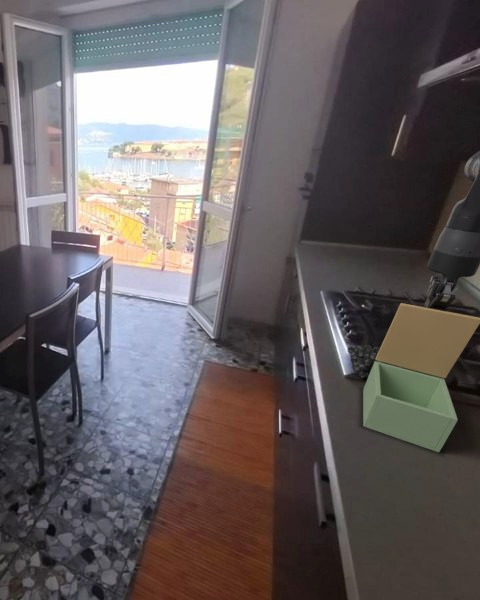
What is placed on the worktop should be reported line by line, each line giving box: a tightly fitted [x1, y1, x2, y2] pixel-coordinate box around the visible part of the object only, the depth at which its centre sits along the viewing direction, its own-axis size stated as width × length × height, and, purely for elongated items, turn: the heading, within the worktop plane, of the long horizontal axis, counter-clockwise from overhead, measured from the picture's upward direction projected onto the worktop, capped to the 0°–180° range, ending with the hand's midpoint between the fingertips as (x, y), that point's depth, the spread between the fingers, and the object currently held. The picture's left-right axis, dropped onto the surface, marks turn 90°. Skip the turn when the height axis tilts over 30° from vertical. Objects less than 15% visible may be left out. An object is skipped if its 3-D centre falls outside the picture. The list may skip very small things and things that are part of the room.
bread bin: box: [362, 361, 459, 453], centre depth 80 cm, size 16×13×9 cm
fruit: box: [346, 344, 394, 380], centre depth 97 cm, size 9×8×15 cm
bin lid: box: [376, 302, 480, 379], centre depth 79 cm, size 16×13×1 cm
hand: (425, 323), depth 81 cm, fingers closed
